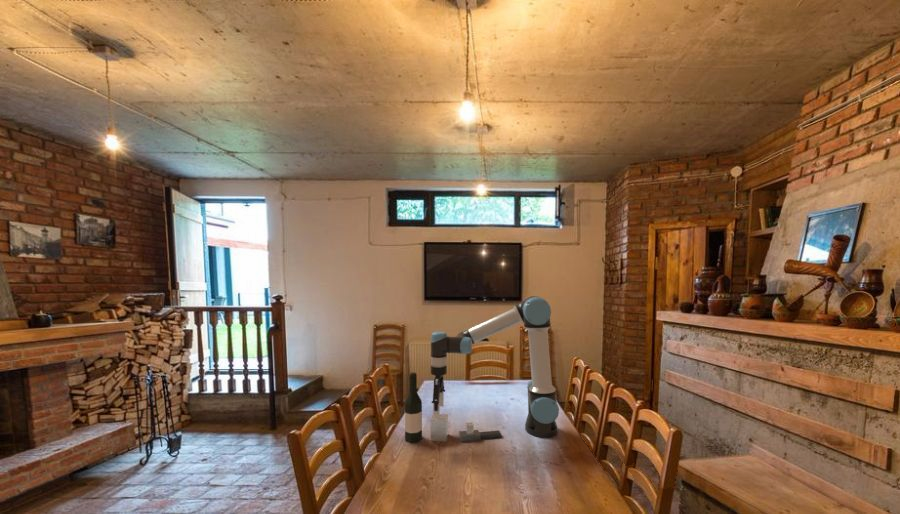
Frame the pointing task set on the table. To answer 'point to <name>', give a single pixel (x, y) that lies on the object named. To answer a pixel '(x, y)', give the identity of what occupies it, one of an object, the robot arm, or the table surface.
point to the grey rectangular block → (439, 428)
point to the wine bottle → (413, 412)
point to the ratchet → (476, 434)
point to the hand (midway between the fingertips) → (438, 411)
